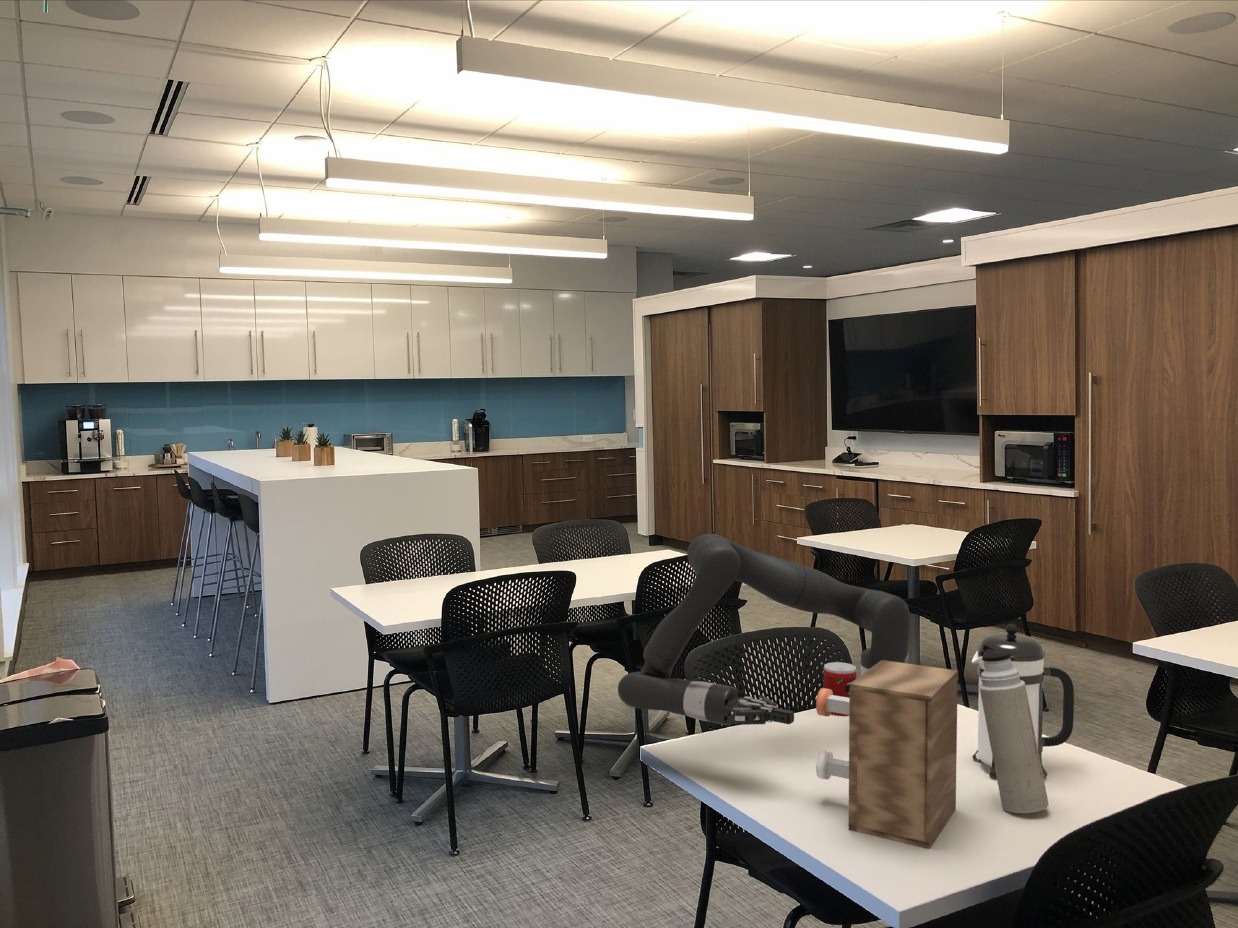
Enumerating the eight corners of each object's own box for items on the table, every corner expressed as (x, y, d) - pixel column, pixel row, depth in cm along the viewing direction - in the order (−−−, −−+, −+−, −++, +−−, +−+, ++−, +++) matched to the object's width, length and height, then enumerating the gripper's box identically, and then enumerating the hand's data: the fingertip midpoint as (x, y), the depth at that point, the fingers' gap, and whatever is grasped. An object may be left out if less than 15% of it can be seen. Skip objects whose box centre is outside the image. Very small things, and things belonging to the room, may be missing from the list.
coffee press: (1031, 791, 185) (1034, 637, 183) (955, 767, 197) (957, 622, 195) (1073, 769, 196) (1077, 623, 194) (999, 747, 208) (1002, 610, 206)
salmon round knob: (816, 718, 179) (816, 691, 178) (825, 710, 183) (825, 684, 182) (888, 731, 171) (888, 703, 171) (896, 723, 176) (897, 696, 175)
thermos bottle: (1047, 797, 179) (1018, 647, 181) (1049, 812, 172) (1019, 655, 173) (1002, 799, 182) (973, 651, 184) (1002, 814, 175) (972, 660, 176)
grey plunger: (816, 781, 179) (816, 755, 179) (825, 772, 184) (825, 747, 183) (888, 797, 172) (888, 769, 172) (896, 787, 176) (896, 760, 176)
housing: (848, 829, 170) (849, 683, 168) (880, 793, 185) (881, 659, 183) (929, 848, 162) (931, 696, 160) (955, 809, 177) (957, 670, 175)
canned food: (838, 718, 228) (838, 672, 228) (816, 708, 235) (816, 664, 235) (863, 713, 232) (863, 668, 231) (841, 704, 239) (841, 660, 238)
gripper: (695, 691, 187) (779, 707, 178) (726, 676, 198) (806, 690, 189) (695, 729, 188) (778, 747, 178) (725, 712, 199) (805, 727, 189)
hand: (792, 717), depth 184 cm, fingers closed
